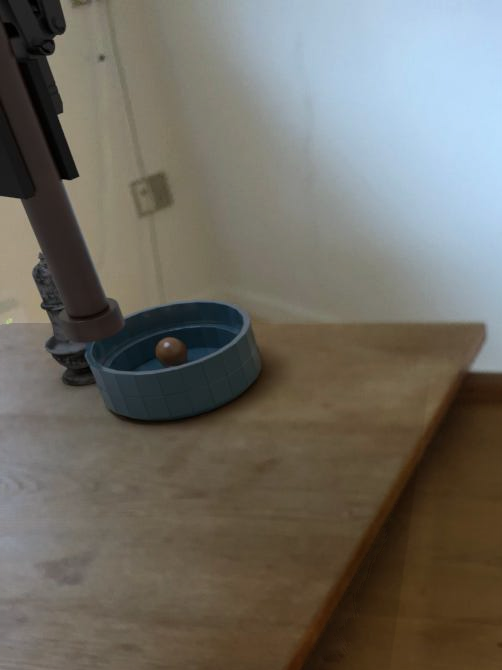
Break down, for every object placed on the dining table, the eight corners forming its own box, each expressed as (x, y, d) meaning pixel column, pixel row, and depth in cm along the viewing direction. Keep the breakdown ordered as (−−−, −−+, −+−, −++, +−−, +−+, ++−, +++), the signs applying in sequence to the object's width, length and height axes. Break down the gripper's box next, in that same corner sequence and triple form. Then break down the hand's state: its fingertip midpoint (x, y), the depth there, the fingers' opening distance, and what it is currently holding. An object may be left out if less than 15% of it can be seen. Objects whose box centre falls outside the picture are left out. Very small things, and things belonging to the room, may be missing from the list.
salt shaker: (130, 362, 97) (85, 242, 88) (91, 390, 93) (40, 267, 85) (86, 355, 99) (38, 238, 91) (46, 383, 95) (-7, 262, 87)
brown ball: (160, 364, 94) (152, 370, 91) (159, 333, 93) (151, 337, 90) (191, 368, 94) (184, 373, 92) (191, 336, 93) (184, 341, 90)
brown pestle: (58, 345, 65) (-86, 6, 52) (78, 320, 68) (-53, -7, 55) (115, 340, 64) (-15, -2, 51) (132, 315, 67) (13, -15, 54)
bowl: (82, 430, 87) (61, 380, 84) (131, 353, 98) (114, 306, 95) (245, 418, 86) (229, 367, 82) (276, 341, 97) (263, 293, 93)
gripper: (-306, -368, 37) (-30, 239, 53) (19, -366, 47) (171, 150, 63) (-392, -337, 41) (-108, 226, 57) (-72, -342, 50) (95, 142, 66)
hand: (39, 185), depth 60 cm, fingers closed on brown pestle, 3 cm apart
